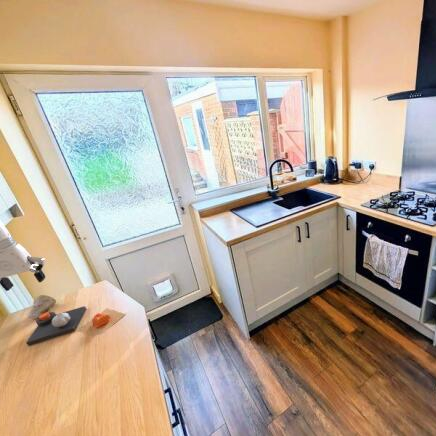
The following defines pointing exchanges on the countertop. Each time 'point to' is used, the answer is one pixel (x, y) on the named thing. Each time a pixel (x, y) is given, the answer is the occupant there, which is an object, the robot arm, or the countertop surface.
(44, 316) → the tare button
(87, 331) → the shallow wooden dish
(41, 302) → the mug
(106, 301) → the countertop surface
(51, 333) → the scale
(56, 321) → the garlic
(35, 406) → the countertop surface
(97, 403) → the countertop surface
